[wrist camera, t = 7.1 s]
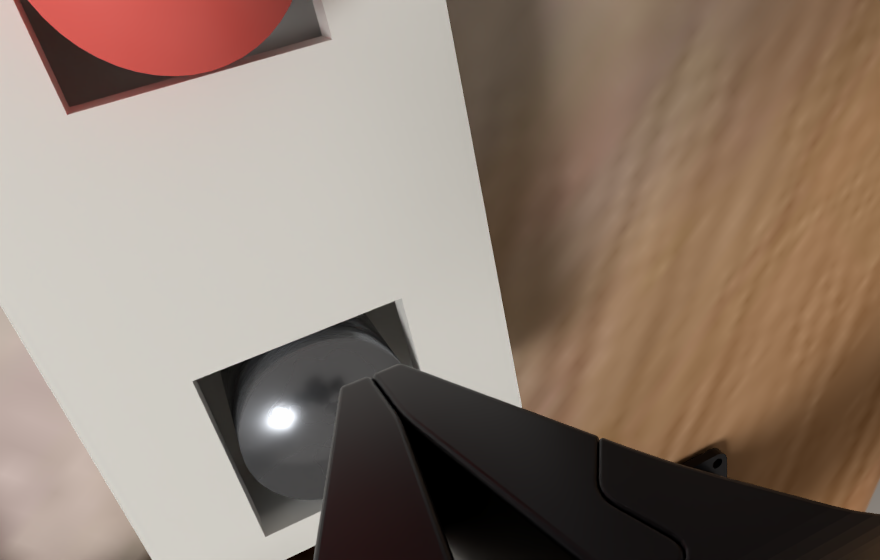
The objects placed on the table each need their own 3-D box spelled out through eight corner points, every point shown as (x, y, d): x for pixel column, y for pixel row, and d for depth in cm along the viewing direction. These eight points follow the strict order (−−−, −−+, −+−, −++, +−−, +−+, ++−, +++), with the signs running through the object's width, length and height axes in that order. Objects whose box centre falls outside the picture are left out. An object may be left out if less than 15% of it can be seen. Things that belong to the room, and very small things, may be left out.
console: (315, -300, 15) (375, -376, 12) (469, 374, 24) (528, 443, 20) (-226, -218, 12) (-353, -285, 9) (170, 505, 21) (182, 609, 18)
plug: (353, 264, 19) (394, 316, 17) (390, 388, 22) (433, 453, 19) (195, 323, 18) (211, 389, 15) (251, 448, 20) (274, 527, 18)
